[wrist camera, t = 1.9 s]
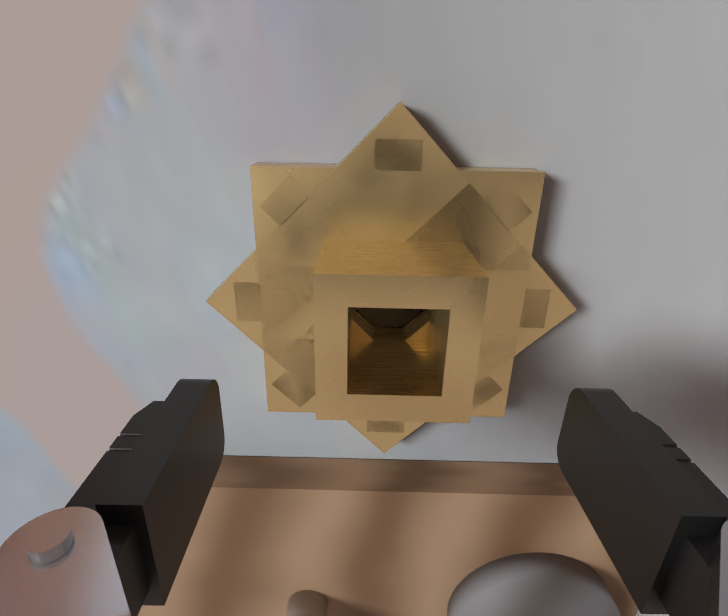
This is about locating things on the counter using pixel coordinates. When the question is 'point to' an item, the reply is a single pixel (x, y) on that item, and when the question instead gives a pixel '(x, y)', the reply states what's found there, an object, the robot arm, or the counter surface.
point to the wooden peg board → (393, 542)
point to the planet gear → (392, 283)
